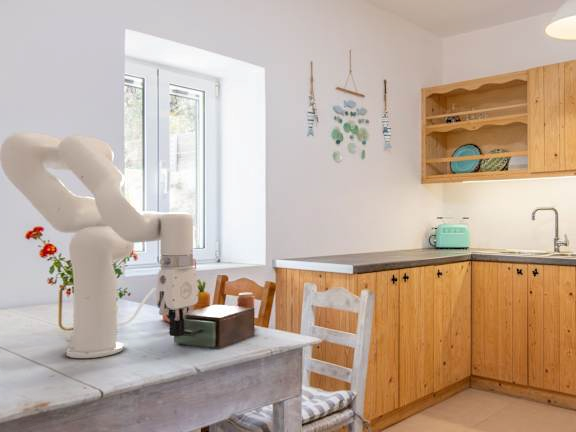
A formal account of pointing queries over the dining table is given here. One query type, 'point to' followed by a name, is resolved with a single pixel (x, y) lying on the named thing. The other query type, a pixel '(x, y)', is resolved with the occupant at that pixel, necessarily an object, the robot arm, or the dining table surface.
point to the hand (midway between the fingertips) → (177, 335)
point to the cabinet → (227, 322)
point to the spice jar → (245, 300)
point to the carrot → (202, 297)
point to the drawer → (198, 332)
